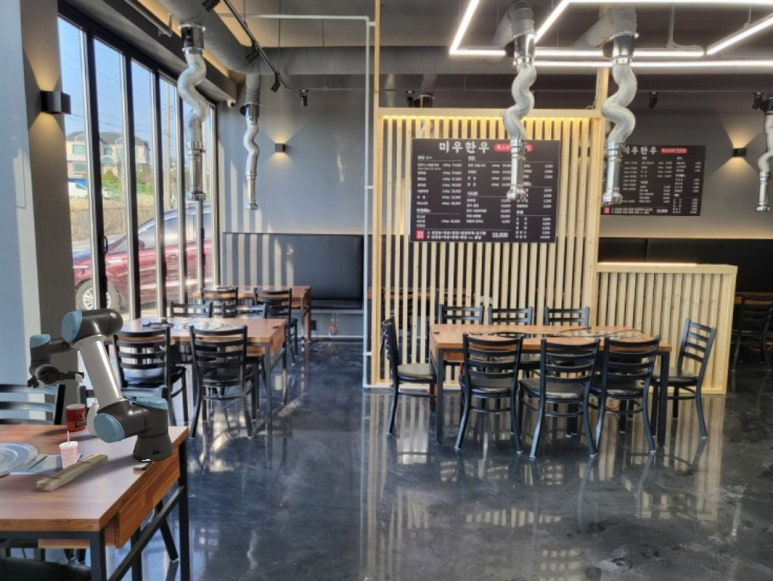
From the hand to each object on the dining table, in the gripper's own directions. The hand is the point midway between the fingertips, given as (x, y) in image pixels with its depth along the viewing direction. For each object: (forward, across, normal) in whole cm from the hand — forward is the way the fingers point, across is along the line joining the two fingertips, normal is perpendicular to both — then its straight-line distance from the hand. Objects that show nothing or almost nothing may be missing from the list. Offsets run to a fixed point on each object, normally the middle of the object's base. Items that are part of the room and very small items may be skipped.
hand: (62, 382), depth 209 cm
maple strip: (+22, +3, -30) cm, 37 cm away
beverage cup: (+13, +2, -30) cm, 33 cm away
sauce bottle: (-16, -17, -30) cm, 38 cm away
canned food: (-33, -13, -30) cm, 46 cm away
